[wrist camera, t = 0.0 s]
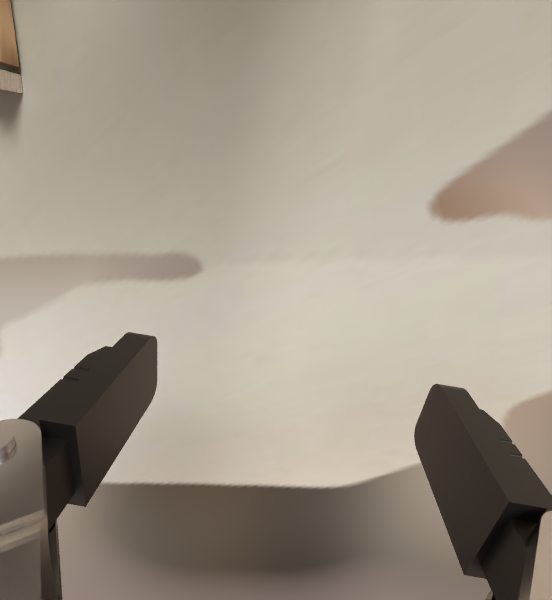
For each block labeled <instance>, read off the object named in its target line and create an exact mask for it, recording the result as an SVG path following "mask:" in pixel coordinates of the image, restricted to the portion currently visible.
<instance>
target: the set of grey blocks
mask: <svg viewBox="0 0 552 600" xmlns="http://www.w3.org/2000/svg"><path fill="white" fill-rule="evenodd" d="M0 90H3V91H10V92H16V93H23V90H22V83H21V75H19V74H15V73H12V72H8V71H5V70H1V69H0Z"/></svg>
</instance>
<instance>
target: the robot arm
mask: <svg viewBox="0 0 552 600" xmlns="http://www.w3.org/2000/svg"><path fill="white" fill-rule="evenodd" d="M156 386H157V339H156V337H154V336H149V335H143V334H137V333H131V332H128V333H126V334H125V335H124V336H123V337H122V338H121V339H120V340H119V341H118V342H117V343H116V344H115V345H114V346H113V347H107V346H105V347H103V348H101V349H99V350H97V351H95V352H92V353H90V354H88V355H87V356H86V357H85V358H84V359H82V360H81V361H80V362H79V363H78V364H77V365H76V366H75V367H74V369H71V370H70V371H69V372H68V373H67V374H66V375H65V376H64V378H63V380H59V381H58V382H57V383H56V384H55V385H54V386H53V387H52V388H51V389H50V390H49V391H47V392H46V393H45V394H44V395H43V396H42V397H41V398H40V399H39V400H38V401H37V402H35V403H34V404H33V405H32V406H31V407H30V408H29V409H28V410H27V411H26V412H24V413H23V414H22V415H21V416H20V417H19V418H18V419H8V420H2V421H0V600H62V587H61V572H60V555H59V539H58V525H57V518H58V517H59V515H60V513H61V512H62V511H63V509H64V508H65V506H66V505H67V504H73V505H79V506H84V507H86V505H87V503H88V502H89V500H90V499H91V497H92V496H93V494H94V492H95V491H96V489H97V488H98V486H99V484H100V483H101V481H102V480H103V478H104V477H105V475H106V473H107V472H108V470H109V469H110V467H111V465H112V464H113V462H114V461H115V459H116V457H117V456H118V454H119V453H120V451H121V449H122V448H123V446H124V445H125V443H126V441H127V440H128V438H129V437H130V435H131V433H132V432H133V430H134V429H135V427H136V425H137V424H138V422H139V421H140V419H141V417H142V416H143V414H144V413H145V411H146V409H147V408H148V406H149V405H150V403H151V401H152V399H153V397H154V394H155V391H156ZM414 438H415V446H416V449H417V452H418V454H419V457H420V460H421V462H422V465H423V468H424V470H425V473H426V475H427V478H428V481H429V483H430V486H431V489H432V491H433V494H434V497H435V499H436V502H437V505H438V507H439V510H440V513H441V515H442V518H443V520H444V523H445V526H446V528H447V531H448V534H449V536H450V539H451V542H452V544H453V547H454V550H455V552H456V555H457V557H458V560H459V563H460V565H461V568H462V570H463V573H464V575H468V576H474V577H479V578H485V579H487V581H488V583H489V586H490V588H491V591H490V592H489V594H488V595H487V597H486V599H485V600H552V495H551V494H550V493H549V492H548V490H547V489H546V487H545V486H544V485H543V483H542V482H541V480H540V479H539V478H538V476H537V475H536V473H535V472H534V471H533V469H532V468H531V467H530V465H529V464H528V462H527V461H526V460H525V459H523V458H522V454H521V453H520V451H519V450H518V449H517V447H516V446H515V445H514V444H512V440H511V439H510V438H509V436H508V435H507V433H506V432H505V431H504V429H503V428H502V426H501V425H500V424H499V423H498V422H496V421H495V420H494V419H493V418H492V417H491V416H489V415H488V414H487V413H486V412H485V411H484V410H481V409H479V408H478V406H477V405H476V403H475V402H474V400H473V399H472V398H471V396H470V395H469V393H468V392H467V391H466V390H465V389H463V388H458V387H452V386H446V385H440V384H435V385H433V386H432V388H431V389H430V391H429V394H428V396H427V399H426V401H425V404H424V406H423V409H422V411H421V414H420V416H419V419H418V421H417V424H416V427H415V434H414Z"/></svg>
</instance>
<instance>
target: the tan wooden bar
mask: <svg viewBox="0 0 552 600" xmlns="http://www.w3.org/2000/svg"><path fill="white" fill-rule="evenodd" d="M0 64H2V65H8V66H14V67H19V61H18V54H17V46H16V39H15V32H14V24H13V17H12V9H11V2H10V0H0Z"/></svg>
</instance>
